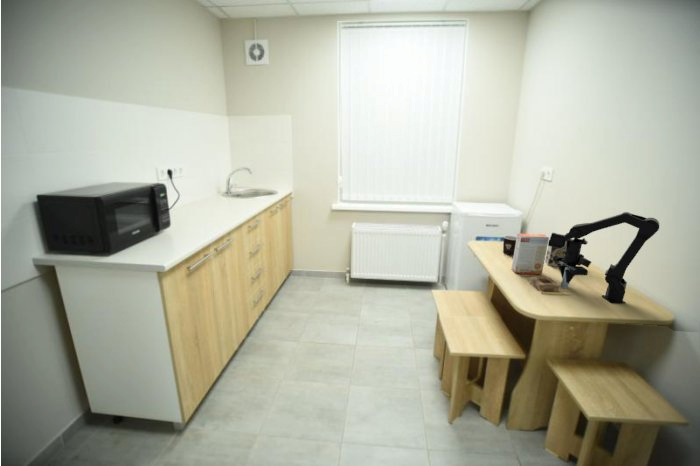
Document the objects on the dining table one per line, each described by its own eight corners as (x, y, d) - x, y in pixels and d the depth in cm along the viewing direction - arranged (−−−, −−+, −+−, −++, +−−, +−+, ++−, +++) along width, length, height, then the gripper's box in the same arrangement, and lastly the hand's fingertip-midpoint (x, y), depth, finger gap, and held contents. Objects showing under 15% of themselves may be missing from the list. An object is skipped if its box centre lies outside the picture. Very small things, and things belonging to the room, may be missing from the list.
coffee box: (548, 265, 190) (553, 238, 185) (544, 261, 196) (550, 235, 191) (565, 267, 188) (572, 240, 183) (561, 263, 194) (567, 236, 189)
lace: (568, 294, 155) (568, 293, 155) (541, 293, 156) (541, 292, 156) (563, 290, 159) (564, 289, 159) (537, 289, 160) (537, 288, 160)
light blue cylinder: (569, 288, 162) (574, 269, 159) (563, 288, 162) (567, 268, 160) (565, 285, 165) (570, 266, 162) (559, 285, 165) (564, 266, 162)
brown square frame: (558, 292, 158) (559, 285, 157) (538, 291, 158) (540, 284, 157) (548, 283, 166) (549, 277, 165) (529, 283, 167) (531, 276, 166)
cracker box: (536, 270, 183) (544, 233, 177) (542, 274, 177) (549, 237, 171) (510, 269, 184) (517, 232, 178) (514, 273, 178) (521, 236, 172)
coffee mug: (498, 251, 210) (500, 236, 208) (507, 250, 214) (510, 235, 211) (513, 258, 200) (516, 242, 197) (523, 256, 204) (526, 240, 201)
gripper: (603, 258, 149) (595, 290, 154) (578, 245, 167) (571, 274, 171) (578, 257, 150) (570, 289, 154) (555, 244, 167) (549, 273, 172)
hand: (565, 281), depth 163 cm, fingers closed on light blue cylinder, 3 cm apart
